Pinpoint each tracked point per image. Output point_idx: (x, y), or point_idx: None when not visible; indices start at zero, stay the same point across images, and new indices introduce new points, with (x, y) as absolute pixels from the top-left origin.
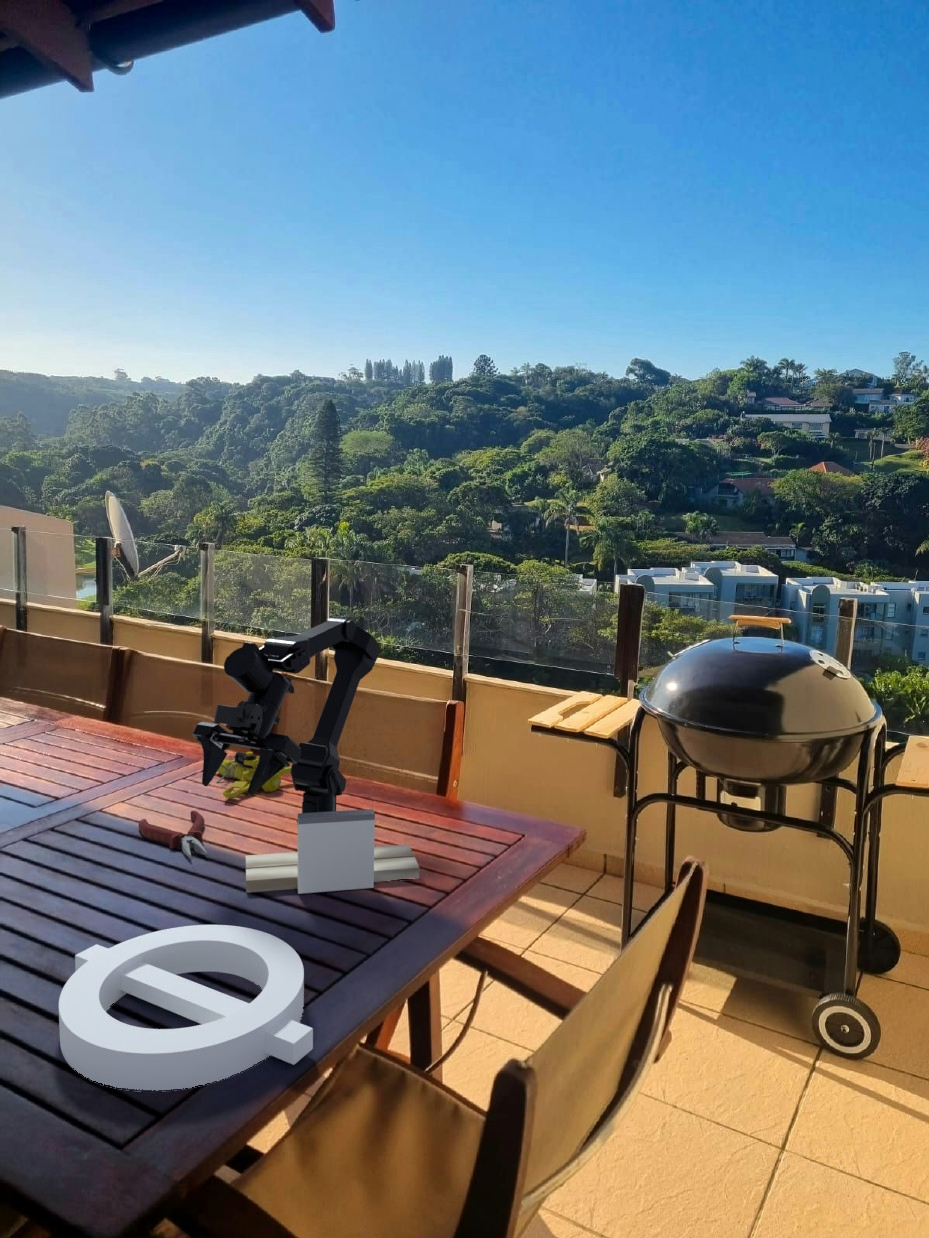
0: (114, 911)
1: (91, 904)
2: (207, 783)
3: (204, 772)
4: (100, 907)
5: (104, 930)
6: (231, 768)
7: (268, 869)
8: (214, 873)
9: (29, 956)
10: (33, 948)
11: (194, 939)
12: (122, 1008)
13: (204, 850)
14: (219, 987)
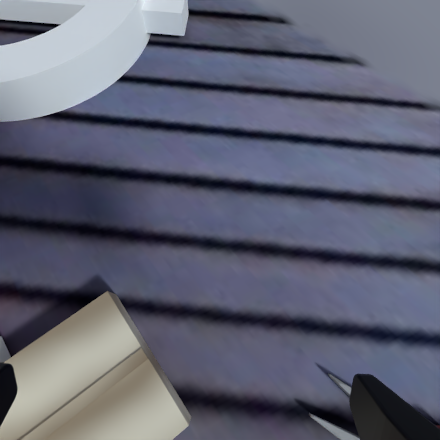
0: (281, 144)
1: (332, 146)
2: (355, 411)
3: (423, 429)
4: (311, 145)
5: (247, 101)
6: None
7: (86, 371)
8: (234, 345)
9: (277, 32)
10: (289, 43)
11: (41, 37)
12: None
13: (329, 425)
14: None
